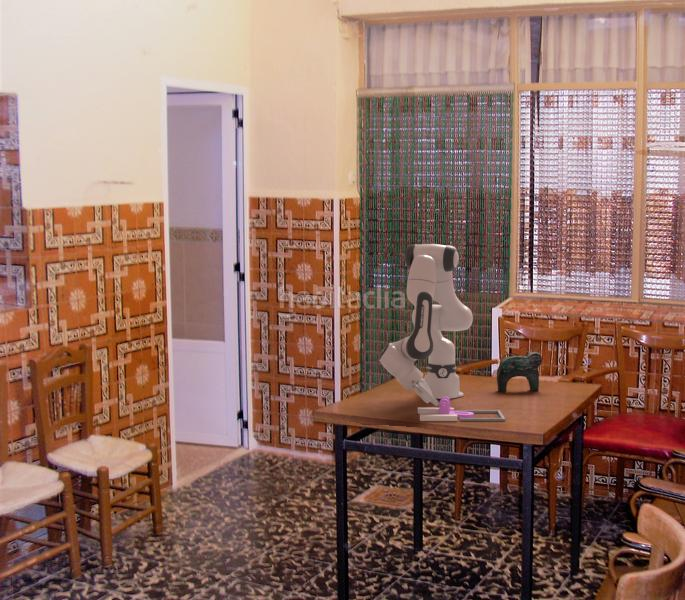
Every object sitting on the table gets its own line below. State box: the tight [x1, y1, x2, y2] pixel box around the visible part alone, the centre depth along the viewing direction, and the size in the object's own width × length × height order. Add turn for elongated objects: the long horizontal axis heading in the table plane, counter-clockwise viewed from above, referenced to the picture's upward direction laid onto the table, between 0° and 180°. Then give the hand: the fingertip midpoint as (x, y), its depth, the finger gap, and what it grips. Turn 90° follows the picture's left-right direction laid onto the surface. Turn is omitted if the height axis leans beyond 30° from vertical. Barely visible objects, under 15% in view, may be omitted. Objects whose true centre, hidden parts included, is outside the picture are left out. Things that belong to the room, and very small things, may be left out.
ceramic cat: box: [496, 344, 543, 393], centre depth 427 cm, size 20×6×20 cm, turn 97°
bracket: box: [438, 397, 475, 419], centre depth 377 cm, size 13×6×7 cm, turn 79°
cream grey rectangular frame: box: [417, 407, 506, 422], centre depth 376 cm, size 15×32×2 cm, turn 89°
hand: (437, 404), depth 376 cm, fingers closed
